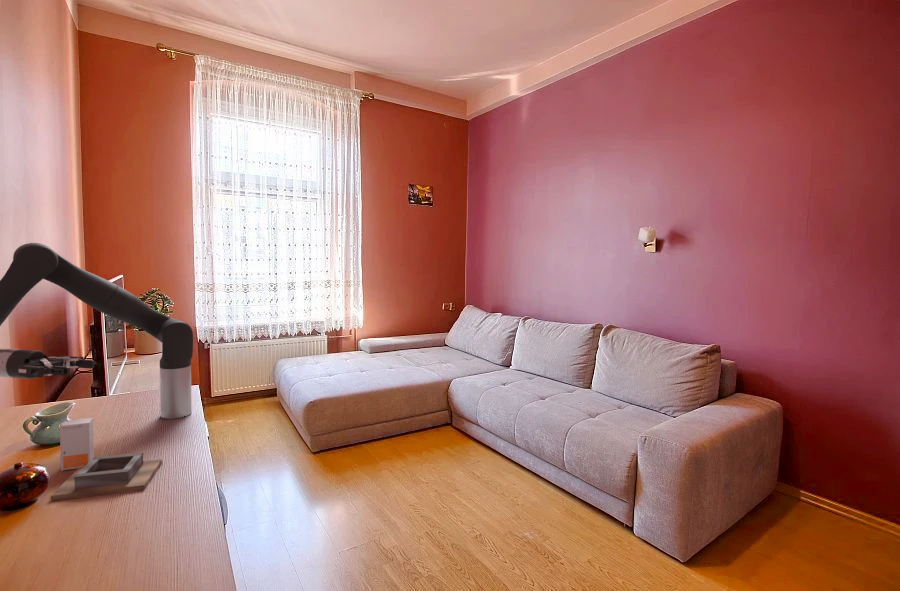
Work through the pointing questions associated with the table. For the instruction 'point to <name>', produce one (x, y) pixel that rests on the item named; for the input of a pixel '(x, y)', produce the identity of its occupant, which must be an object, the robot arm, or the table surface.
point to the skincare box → (76, 443)
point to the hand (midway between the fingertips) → (81, 367)
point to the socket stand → (109, 476)
